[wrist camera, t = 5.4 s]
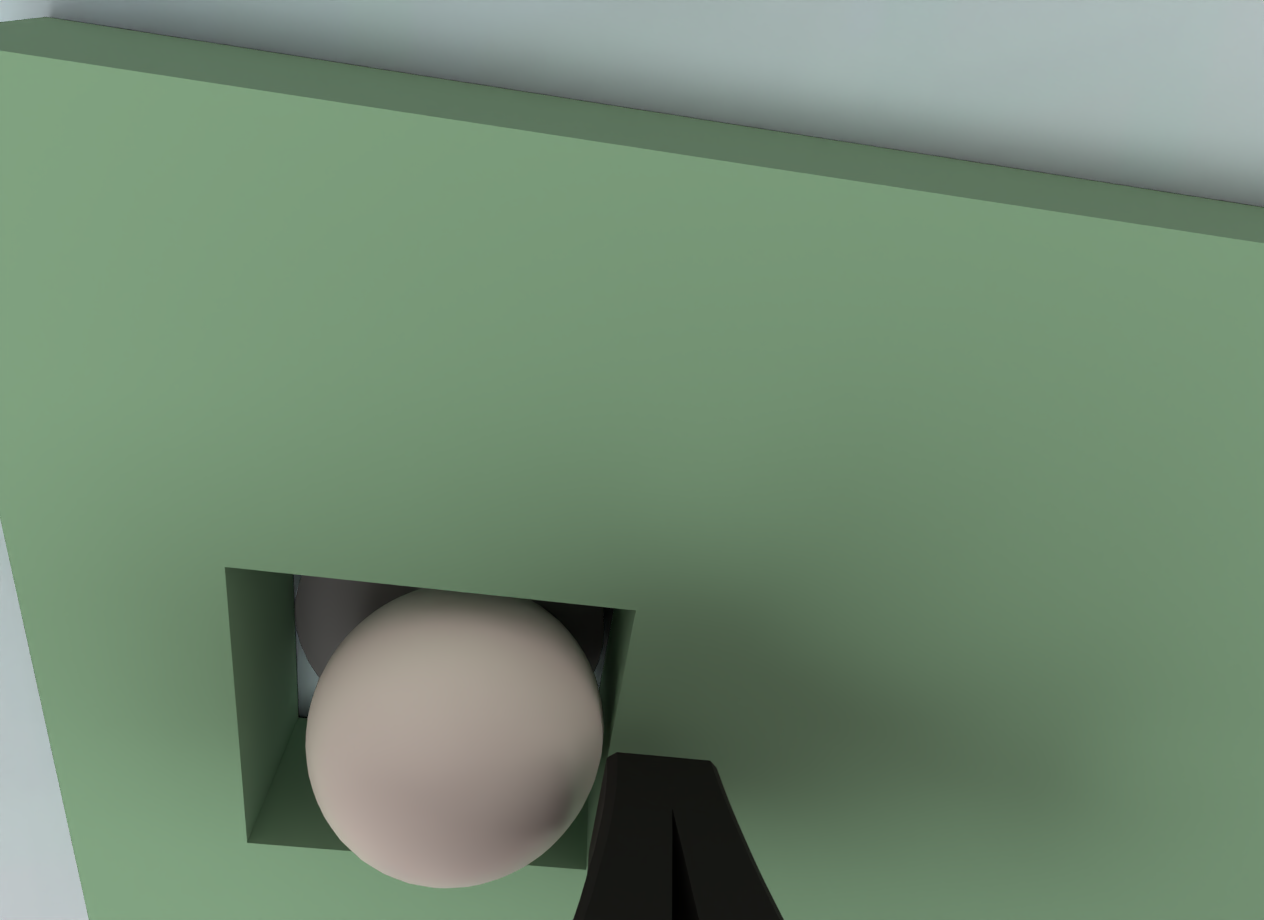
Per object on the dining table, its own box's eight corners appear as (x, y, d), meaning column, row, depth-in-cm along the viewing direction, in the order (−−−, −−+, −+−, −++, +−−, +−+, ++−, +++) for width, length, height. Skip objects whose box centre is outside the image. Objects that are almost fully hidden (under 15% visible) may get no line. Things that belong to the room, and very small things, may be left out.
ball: (536, 507, 14) (681, 672, 11) (516, 698, 16) (636, 881, 13) (265, 560, 12) (358, 780, 9) (278, 773, 14) (359, 1009, 11)
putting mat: (1625, 264, 12) (1850, 332, 10) (1130, 978, 20) (1194, 1106, 18) (46, 17, 10) (-107, 33, 8) (175, 909, 18) (115, 1042, 16)
